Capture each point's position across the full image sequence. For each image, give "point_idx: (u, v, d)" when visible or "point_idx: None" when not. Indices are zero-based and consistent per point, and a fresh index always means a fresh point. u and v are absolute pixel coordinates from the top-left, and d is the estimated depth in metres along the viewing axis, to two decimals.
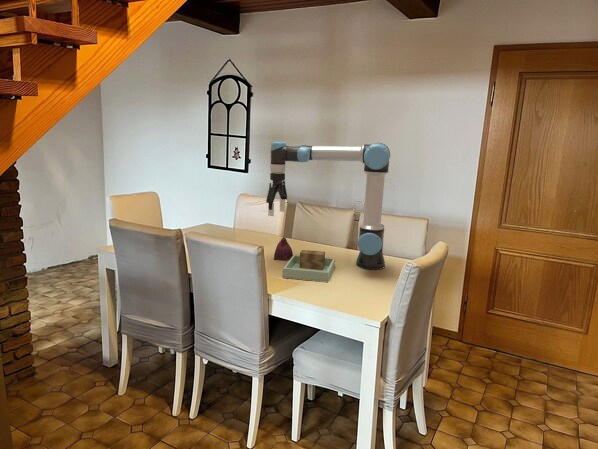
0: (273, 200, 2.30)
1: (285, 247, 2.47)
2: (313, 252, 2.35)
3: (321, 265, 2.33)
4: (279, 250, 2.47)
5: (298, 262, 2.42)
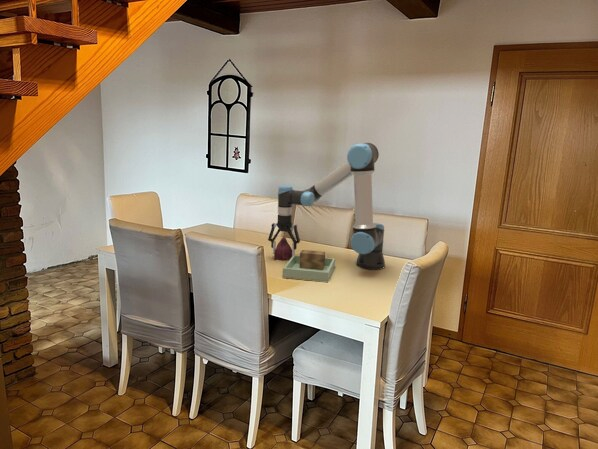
0: (273, 239, 2.50)
1: (285, 247, 2.47)
2: (313, 252, 2.35)
3: (321, 265, 2.33)
4: (279, 250, 2.47)
5: (298, 262, 2.42)
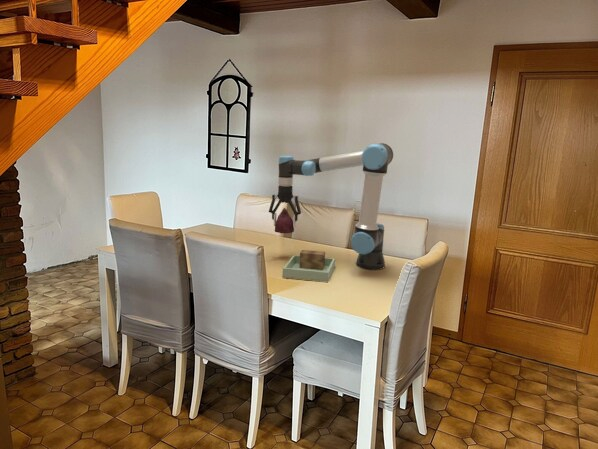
0: (274, 211, 2.46)
1: (286, 218, 2.44)
2: (313, 252, 2.35)
3: (321, 265, 2.33)
4: (280, 221, 2.44)
5: (298, 262, 2.42)
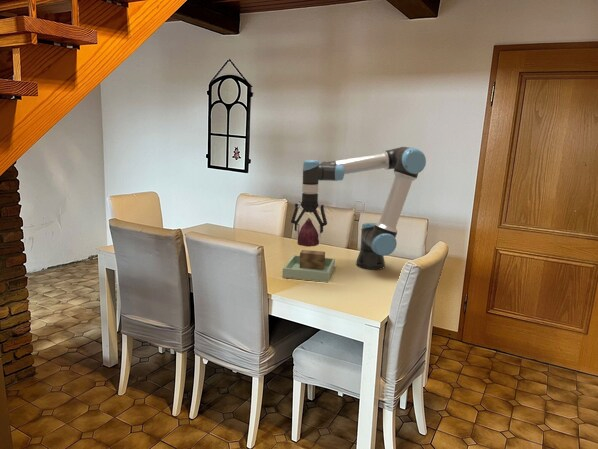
0: (297, 221, 2.21)
1: (310, 230, 2.19)
2: (313, 252, 2.35)
3: (321, 265, 2.33)
4: (304, 233, 2.19)
5: (298, 262, 2.42)
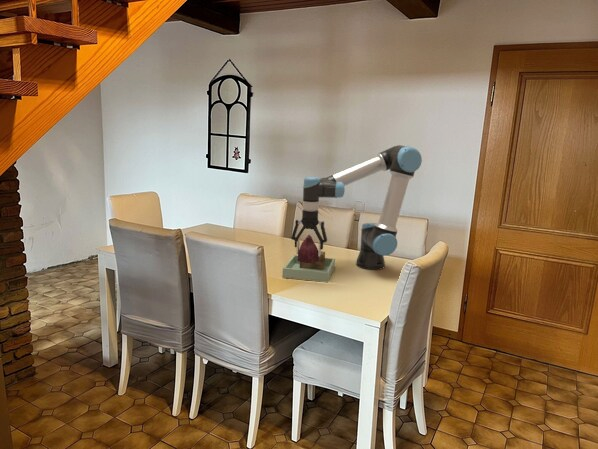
0: (297, 238, 2.22)
1: (311, 246, 2.20)
2: None
3: (321, 265, 2.33)
4: (304, 250, 2.20)
5: (298, 262, 2.42)
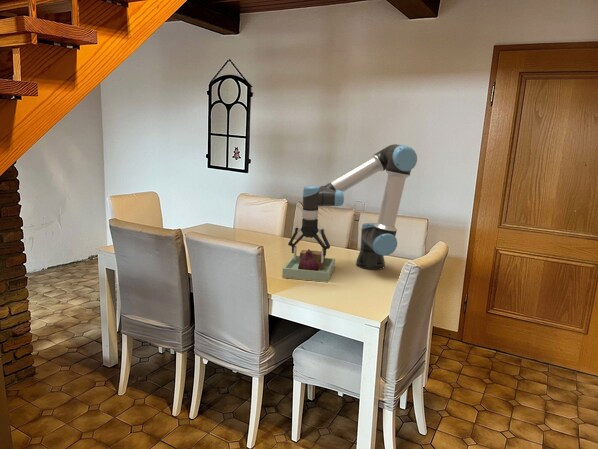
0: (294, 244, 2.23)
1: (310, 261, 2.21)
2: (313, 252, 2.35)
3: (321, 265, 2.33)
4: (304, 264, 2.21)
5: (298, 262, 2.42)
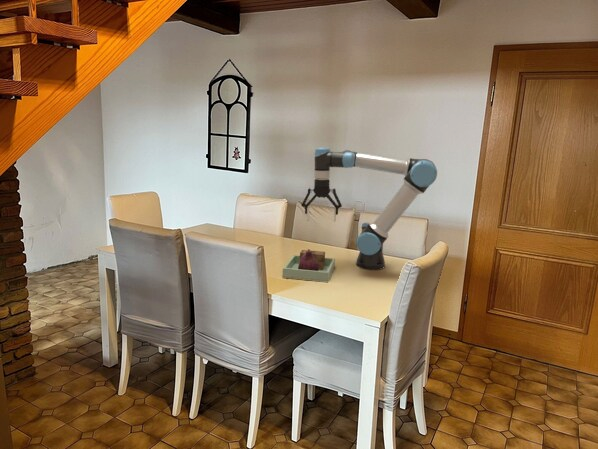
0: (308, 205, 2.32)
1: (310, 261, 2.21)
2: (313, 252, 2.35)
3: (321, 265, 2.33)
4: (304, 264, 2.21)
5: (298, 262, 2.42)
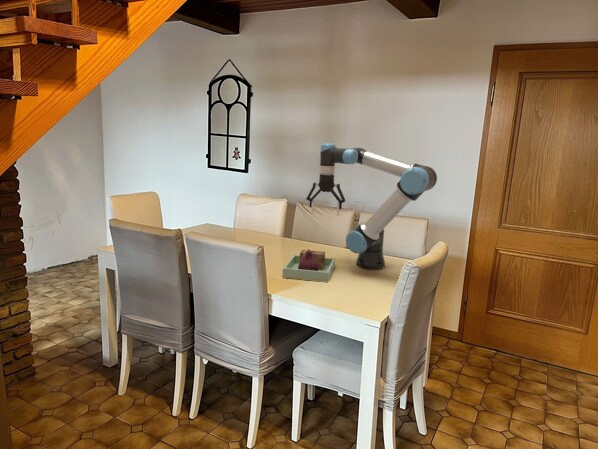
0: (312, 199, 2.40)
1: (310, 261, 2.21)
2: (313, 252, 2.35)
3: (321, 265, 2.33)
4: (304, 264, 2.21)
5: (298, 262, 2.42)
